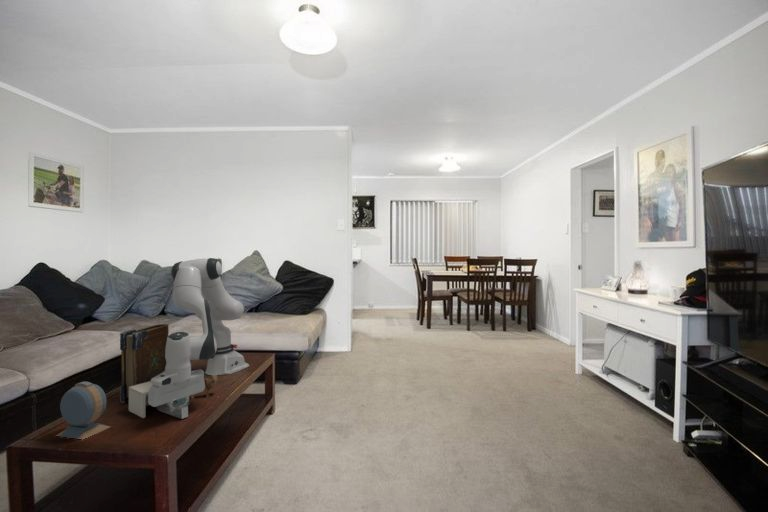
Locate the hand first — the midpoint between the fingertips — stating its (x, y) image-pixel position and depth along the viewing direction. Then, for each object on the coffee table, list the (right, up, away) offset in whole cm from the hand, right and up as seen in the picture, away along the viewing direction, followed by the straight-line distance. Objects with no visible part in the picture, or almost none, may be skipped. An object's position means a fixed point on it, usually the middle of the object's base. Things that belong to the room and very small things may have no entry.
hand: (178, 409), depth 140 cm
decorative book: (-28, -3, +24) cm, 37 cm away
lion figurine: (-1, -3, +20) cm, 21 cm away
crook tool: (-2, -2, +4) cm, 6 cm away
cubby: (-13, -3, +9) cm, 16 cm away
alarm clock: (-27, -3, -12) cm, 30 cm away
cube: (-5, -3, +9) cm, 11 cm away
